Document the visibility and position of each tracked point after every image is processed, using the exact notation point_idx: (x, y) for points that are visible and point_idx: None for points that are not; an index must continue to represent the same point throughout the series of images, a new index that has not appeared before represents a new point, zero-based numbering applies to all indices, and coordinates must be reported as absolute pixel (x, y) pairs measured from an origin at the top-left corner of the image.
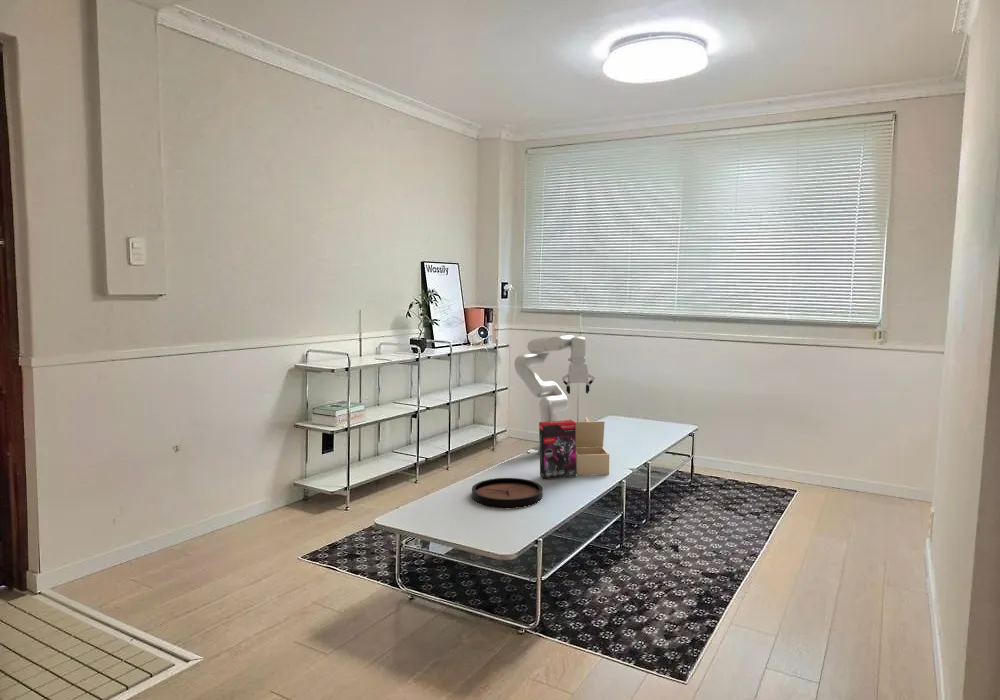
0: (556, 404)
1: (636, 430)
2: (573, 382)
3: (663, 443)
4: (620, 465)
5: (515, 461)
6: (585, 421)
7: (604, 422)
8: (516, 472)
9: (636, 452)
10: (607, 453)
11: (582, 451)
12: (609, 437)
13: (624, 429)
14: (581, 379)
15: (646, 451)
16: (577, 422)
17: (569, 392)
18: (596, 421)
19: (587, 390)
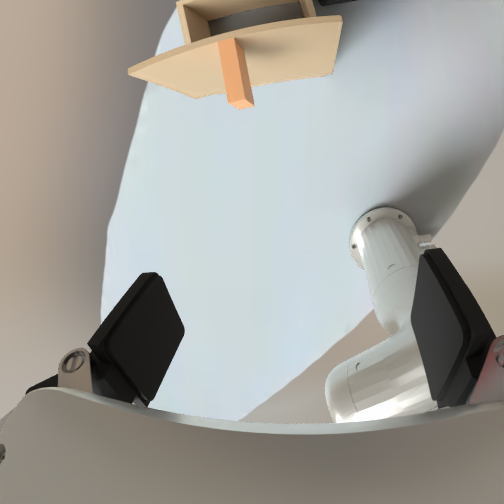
0: (408, 353)
1: (166, 386)
2: (444, 414)
3: (103, 310)
4: (166, 111)
5: (482, 156)
6: (247, 86)
7: (131, 70)
8: (477, 47)
9: (136, 246)
10: (182, 8)
11: None
12: (210, 361)
13: (188, 394)
14: (106, 491)
15: (118, 255)
16: (304, 18)
17: (434, 256)
18: (171, 54)
19: (133, 294)
